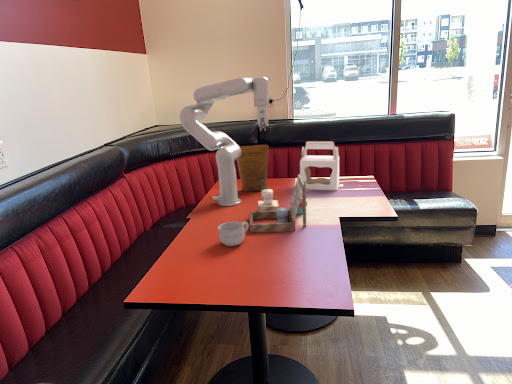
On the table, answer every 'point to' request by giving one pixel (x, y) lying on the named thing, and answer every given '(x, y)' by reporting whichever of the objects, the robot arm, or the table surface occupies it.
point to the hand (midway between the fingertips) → (263, 137)
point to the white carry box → (320, 162)
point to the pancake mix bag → (253, 167)
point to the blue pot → (282, 215)
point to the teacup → (232, 233)
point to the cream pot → (267, 196)
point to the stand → (268, 206)
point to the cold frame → (292, 213)
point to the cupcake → (300, 207)
